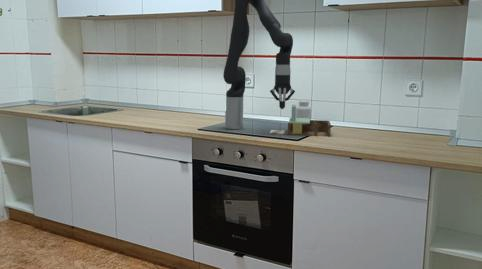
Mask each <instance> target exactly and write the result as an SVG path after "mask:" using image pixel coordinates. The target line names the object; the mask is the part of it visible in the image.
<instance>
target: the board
mask: <svg viewBox="0 0 482 269" xmlns="http://www.w3.org/2000/svg"><path fill="white" fill-rule="evenodd" d="M331 127H332V125H331V121H330V120H321V119H319V120H318V119H311V120H310V124H302V134H293V123H289V122H288V123H287V130H285V129H270V130H269V132H268V135H273V136H274V135H277V136H278V135H280V136H303V137H305V136H306V137H307V136H308V137H309V136H310V137H328V138H329V137H331Z"/></svg>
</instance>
